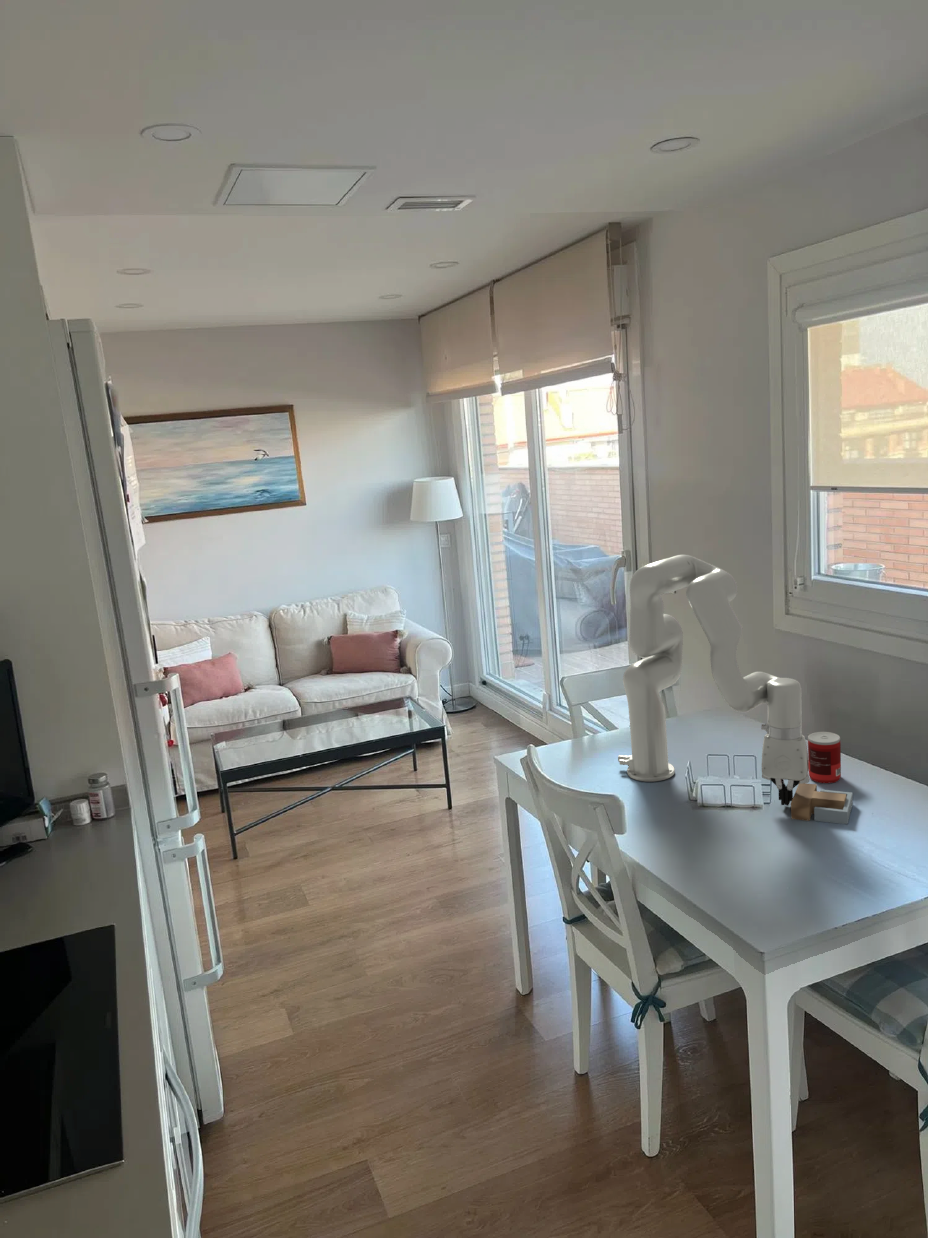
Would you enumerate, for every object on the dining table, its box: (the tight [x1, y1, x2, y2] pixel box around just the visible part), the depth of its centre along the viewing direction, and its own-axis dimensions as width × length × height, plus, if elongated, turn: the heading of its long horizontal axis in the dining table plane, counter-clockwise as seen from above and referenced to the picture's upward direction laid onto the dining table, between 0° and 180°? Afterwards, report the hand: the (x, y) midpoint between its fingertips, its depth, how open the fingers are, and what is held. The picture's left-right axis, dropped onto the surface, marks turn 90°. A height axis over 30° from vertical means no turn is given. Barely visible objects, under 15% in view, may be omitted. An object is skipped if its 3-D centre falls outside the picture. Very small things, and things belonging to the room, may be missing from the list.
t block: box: [790, 783, 846, 822], centre depth 210 cm, size 11×12×4 cm
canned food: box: [807, 731, 842, 784], centre depth 227 cm, size 8×8×11 cm
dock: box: [813, 789, 854, 825], centre depth 209 cm, size 7×11×3 cm, turn 151°
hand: (785, 803), depth 214 cm, fingers closed
